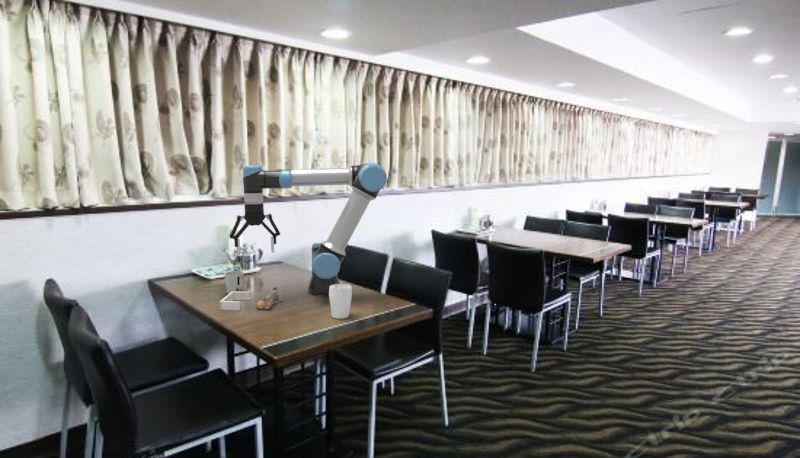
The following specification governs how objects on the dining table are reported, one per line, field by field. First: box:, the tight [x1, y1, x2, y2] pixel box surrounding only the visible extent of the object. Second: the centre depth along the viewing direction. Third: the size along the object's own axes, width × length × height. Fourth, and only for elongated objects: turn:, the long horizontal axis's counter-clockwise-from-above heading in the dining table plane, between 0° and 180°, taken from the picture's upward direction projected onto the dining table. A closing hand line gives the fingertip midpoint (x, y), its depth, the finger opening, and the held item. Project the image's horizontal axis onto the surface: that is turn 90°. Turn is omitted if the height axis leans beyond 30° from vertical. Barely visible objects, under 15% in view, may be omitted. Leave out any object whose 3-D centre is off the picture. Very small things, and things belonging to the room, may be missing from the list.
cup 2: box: [328, 283, 353, 320], centre depth 182 cm, size 9×9×12 cm
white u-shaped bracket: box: [218, 291, 252, 312], centre depth 193 cm, size 8×15×4 cm, turn 1°
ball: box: [256, 300, 265, 310], centre depth 188 cm, size 4×4×4 cm
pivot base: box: [274, 297, 283, 304], centre depth 199 cm, size 6×6×1 cm
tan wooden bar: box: [264, 286, 280, 310], centre depth 193 cm, size 3×14×5 cm, turn 1°
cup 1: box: [224, 270, 245, 295], centre depth 206 cm, size 8×8×10 cm
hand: (256, 253), depth 194 cm, fingers open, 13 cm apart
